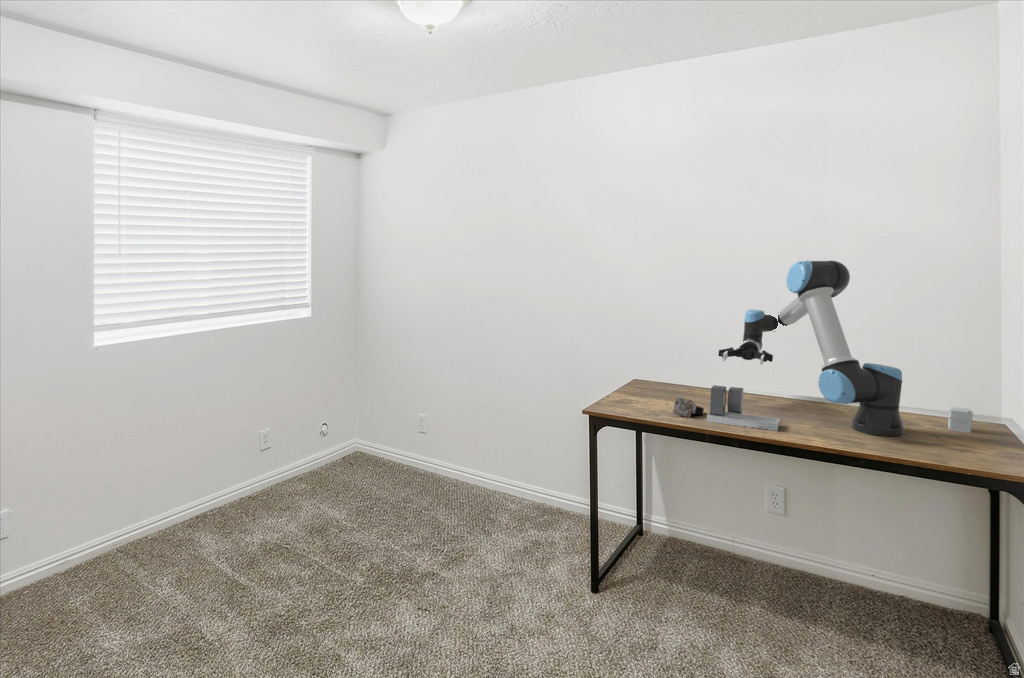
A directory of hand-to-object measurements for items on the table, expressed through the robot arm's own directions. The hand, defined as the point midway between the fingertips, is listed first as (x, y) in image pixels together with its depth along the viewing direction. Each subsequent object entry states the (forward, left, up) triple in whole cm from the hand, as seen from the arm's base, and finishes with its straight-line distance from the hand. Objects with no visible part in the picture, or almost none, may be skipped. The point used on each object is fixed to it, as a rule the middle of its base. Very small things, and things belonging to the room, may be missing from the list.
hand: (742, 359), depth 221 cm
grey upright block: (0, +9, -21) cm, 23 cm away
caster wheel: (+17, +14, -21) cm, 30 cm away
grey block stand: (-4, +16, -21) cm, 27 cm away
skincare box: (-71, -14, -21) cm, 75 cm away
